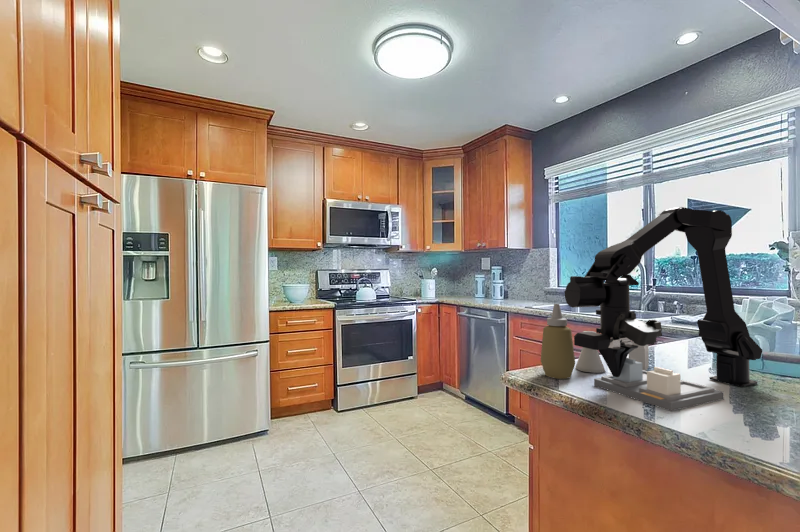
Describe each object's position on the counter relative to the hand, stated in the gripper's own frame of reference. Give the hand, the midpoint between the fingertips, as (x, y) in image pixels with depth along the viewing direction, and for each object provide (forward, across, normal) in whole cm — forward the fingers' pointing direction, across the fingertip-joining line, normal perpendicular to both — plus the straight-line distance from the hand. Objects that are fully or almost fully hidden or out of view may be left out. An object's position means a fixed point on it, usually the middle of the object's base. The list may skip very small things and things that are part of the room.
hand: (616, 376), depth 83 cm
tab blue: (+1, +4, 0) cm, 4 cm away
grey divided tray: (+3, +6, -4) cm, 8 cm away
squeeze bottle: (+3, -4, +13) cm, 14 cm away
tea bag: (+3, +21, +10) cm, 24 cm away
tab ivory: (+1, +2, -9) cm, 9 cm away
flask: (+3, +8, +14) cm, 17 cm away
